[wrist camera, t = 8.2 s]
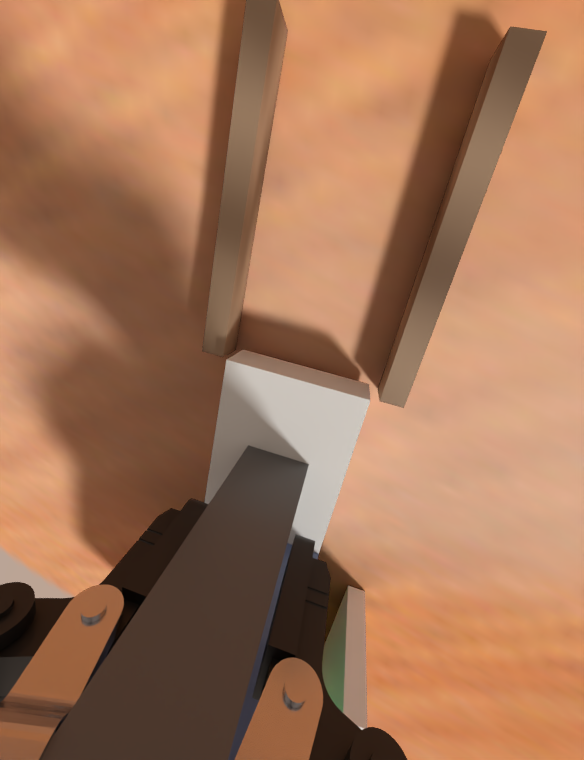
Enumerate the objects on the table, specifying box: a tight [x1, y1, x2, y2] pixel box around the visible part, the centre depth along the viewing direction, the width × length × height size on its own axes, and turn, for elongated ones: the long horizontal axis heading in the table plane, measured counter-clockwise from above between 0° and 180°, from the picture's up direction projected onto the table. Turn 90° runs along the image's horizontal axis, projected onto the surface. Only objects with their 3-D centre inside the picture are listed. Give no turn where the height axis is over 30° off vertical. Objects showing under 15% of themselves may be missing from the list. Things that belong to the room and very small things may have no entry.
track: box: [202, 0, 547, 408], centre depth 12 cm, size 12×9×2 cm
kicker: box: [42, 349, 370, 760], centre depth 11 cm, size 10×6×12 cm, turn 167°
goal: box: [322, 586, 367, 730], centre depth 18 cm, size 8×13×6 cm, turn 78°
